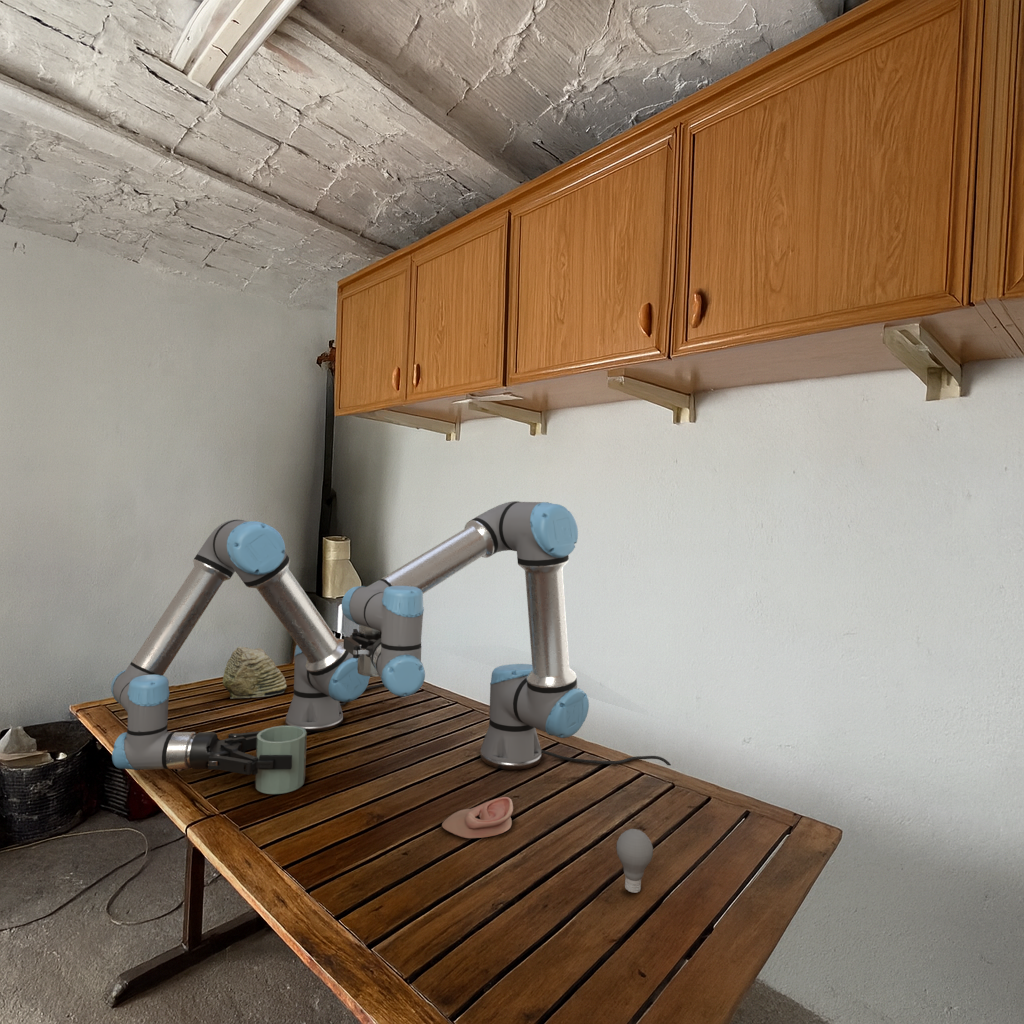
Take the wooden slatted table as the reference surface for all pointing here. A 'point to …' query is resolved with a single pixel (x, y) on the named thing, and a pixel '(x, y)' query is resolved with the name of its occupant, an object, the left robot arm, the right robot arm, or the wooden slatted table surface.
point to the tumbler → (364, 662)
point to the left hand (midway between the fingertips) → (298, 750)
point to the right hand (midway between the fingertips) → (374, 634)
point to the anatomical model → (481, 819)
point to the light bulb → (634, 857)
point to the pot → (281, 743)
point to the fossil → (252, 674)
